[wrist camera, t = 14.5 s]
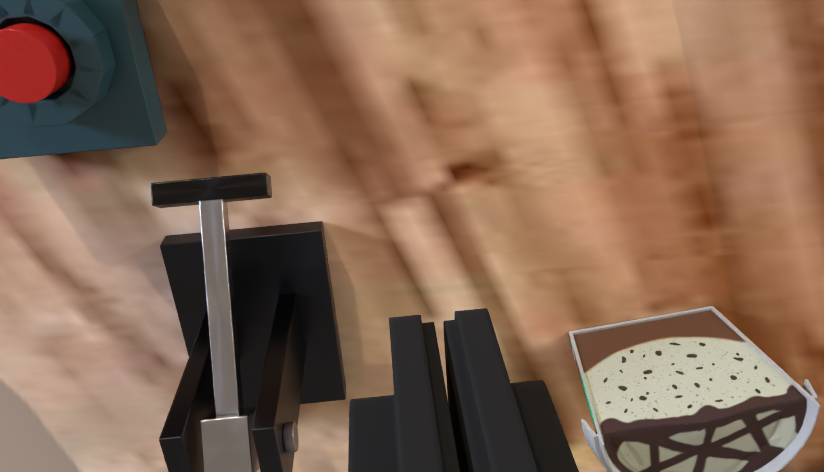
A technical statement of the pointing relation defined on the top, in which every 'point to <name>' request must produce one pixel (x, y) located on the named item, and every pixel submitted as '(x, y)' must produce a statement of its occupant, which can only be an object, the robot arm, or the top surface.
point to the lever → (220, 313)
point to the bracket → (257, 338)
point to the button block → (86, 82)
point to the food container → (688, 397)
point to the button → (31, 63)
